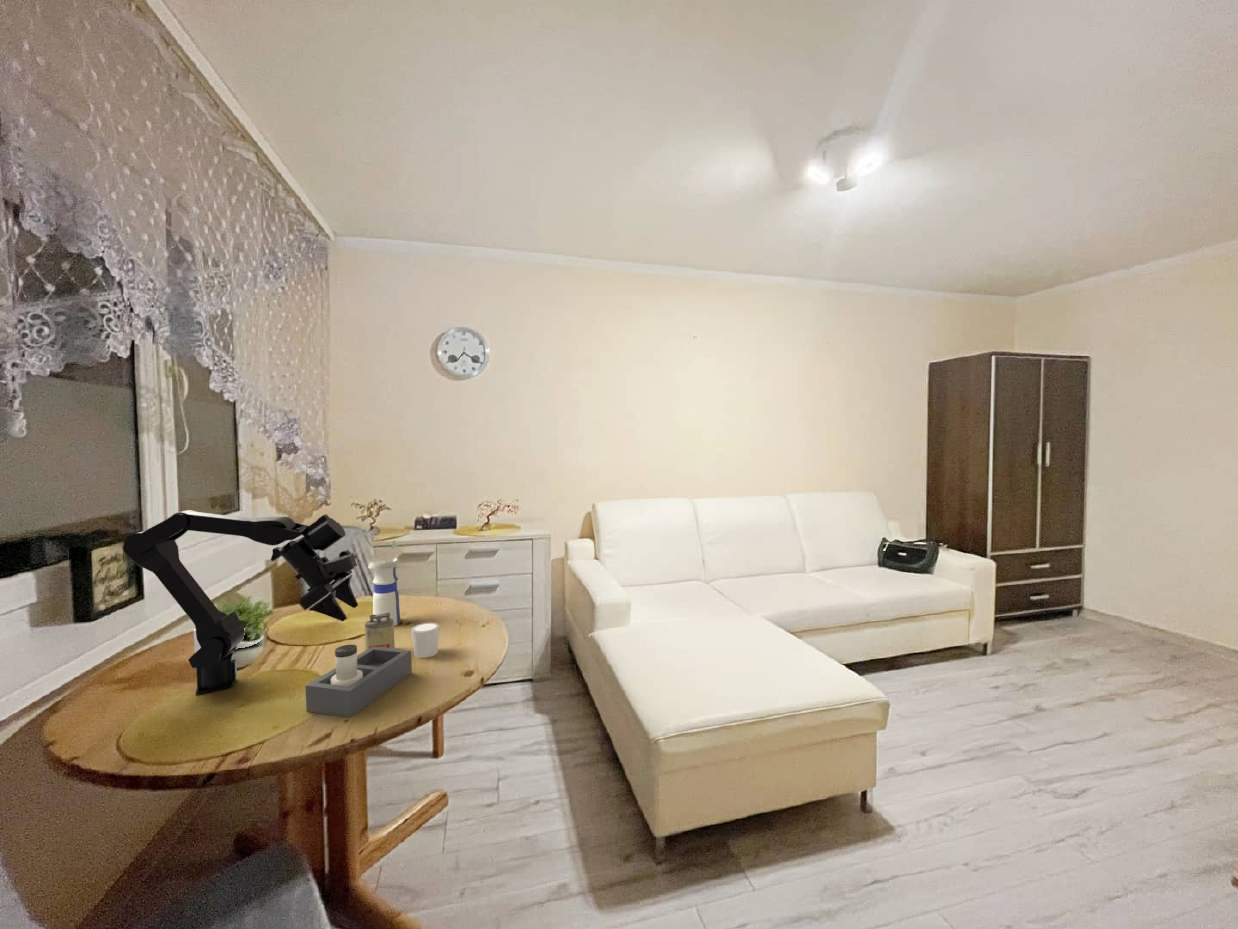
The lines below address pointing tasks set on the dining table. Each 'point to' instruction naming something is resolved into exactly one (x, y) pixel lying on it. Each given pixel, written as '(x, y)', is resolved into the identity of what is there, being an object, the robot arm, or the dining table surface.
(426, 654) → the shot glass
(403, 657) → the compartment tray
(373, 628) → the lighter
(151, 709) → the dining table surface
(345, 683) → the plug
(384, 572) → the white spray bottle
